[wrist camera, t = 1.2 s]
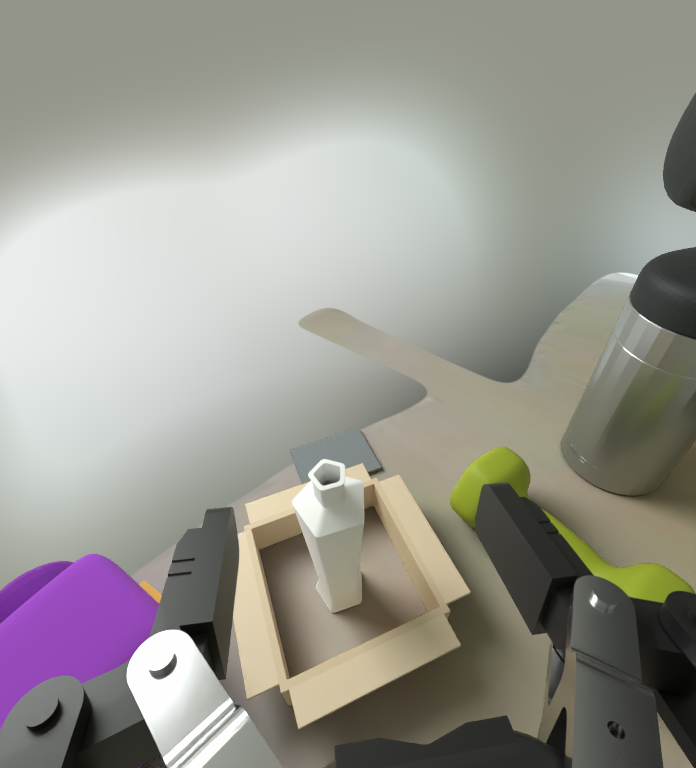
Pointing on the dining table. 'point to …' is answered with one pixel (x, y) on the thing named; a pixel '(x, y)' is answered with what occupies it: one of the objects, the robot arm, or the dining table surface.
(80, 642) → the toy camera
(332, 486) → the white vase
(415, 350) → the dining table surface
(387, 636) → the carton
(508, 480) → the dumbbell
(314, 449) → the mat
